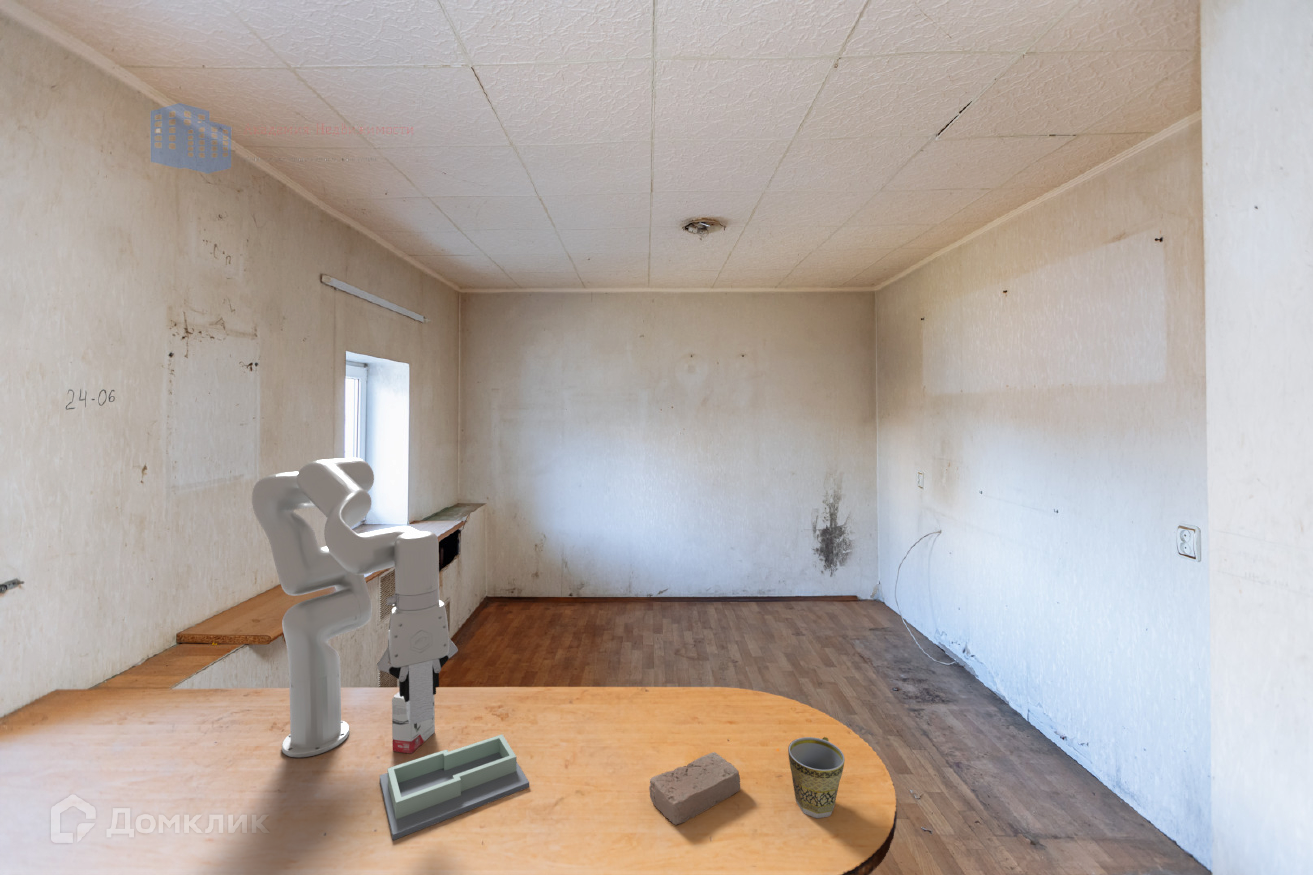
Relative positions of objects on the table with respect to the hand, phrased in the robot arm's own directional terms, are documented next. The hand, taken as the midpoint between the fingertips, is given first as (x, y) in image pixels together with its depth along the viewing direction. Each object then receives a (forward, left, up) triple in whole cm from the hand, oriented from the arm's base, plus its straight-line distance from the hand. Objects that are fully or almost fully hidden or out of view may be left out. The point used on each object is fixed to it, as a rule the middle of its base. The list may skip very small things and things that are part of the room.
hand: (419, 694), depth 101 cm
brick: (+28, +44, -20) cm, 56 cm away
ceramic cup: (+42, +62, -20) cm, 78 cm away
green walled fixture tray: (0, +6, -20) cm, 20 cm away
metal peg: (0, 0, -4) cm, 4 cm away
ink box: (-19, +2, -20) cm, 28 cm away
